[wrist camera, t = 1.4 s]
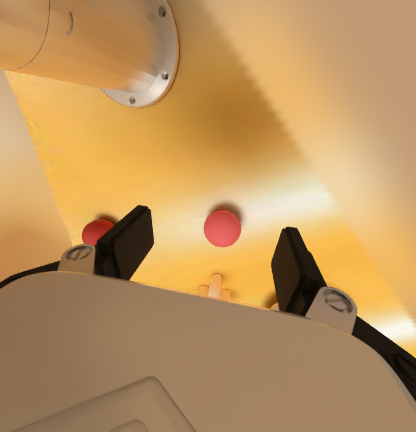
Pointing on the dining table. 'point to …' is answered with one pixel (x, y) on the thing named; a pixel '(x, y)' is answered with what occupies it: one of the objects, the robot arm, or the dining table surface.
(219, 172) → the dining table surface
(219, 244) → the ball
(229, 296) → the pin
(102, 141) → the dining table surface
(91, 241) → the kendama
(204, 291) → the pin
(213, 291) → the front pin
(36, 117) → the dining table surface
